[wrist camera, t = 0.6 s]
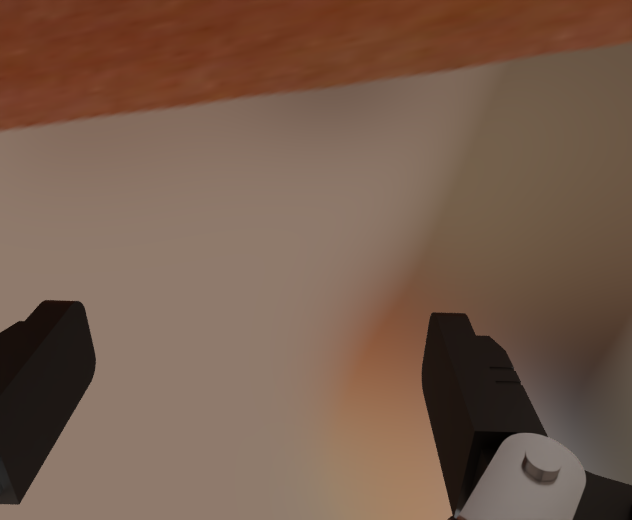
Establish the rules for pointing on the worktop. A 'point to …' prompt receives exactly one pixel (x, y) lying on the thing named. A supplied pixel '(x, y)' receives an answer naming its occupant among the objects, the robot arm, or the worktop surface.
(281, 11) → the worktop surface
